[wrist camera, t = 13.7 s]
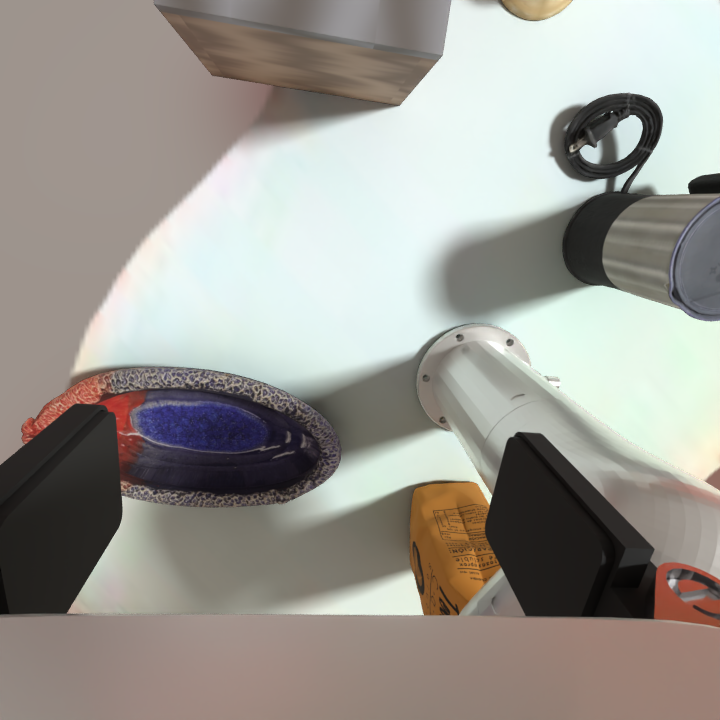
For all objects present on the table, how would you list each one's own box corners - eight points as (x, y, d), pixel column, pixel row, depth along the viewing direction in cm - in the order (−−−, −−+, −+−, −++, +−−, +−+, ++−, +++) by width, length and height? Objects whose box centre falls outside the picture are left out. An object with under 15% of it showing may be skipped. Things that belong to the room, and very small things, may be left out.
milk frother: (600, 303, 47) (720, 345, 33) (495, 209, 42) (583, 213, 28) (702, 189, 44) (882, 183, 30) (600, 76, 39) (756, 6, 25)
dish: (327, 498, 52) (328, 527, 47) (47, 468, 47) (17, 497, 43) (351, 379, 47) (355, 399, 42) (42, 332, 42) (8, 348, 38)
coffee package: (395, 558, 56) (442, 765, 35) (407, 475, 52) (468, 655, 31) (470, 558, 57) (557, 759, 36) (488, 477, 53) (597, 652, 32)
